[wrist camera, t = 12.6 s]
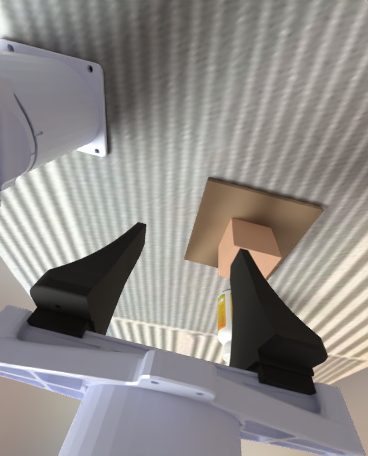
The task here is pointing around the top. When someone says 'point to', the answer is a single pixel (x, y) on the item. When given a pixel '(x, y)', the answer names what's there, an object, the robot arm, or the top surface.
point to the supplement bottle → (225, 322)
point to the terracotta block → (248, 246)
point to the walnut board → (246, 219)
